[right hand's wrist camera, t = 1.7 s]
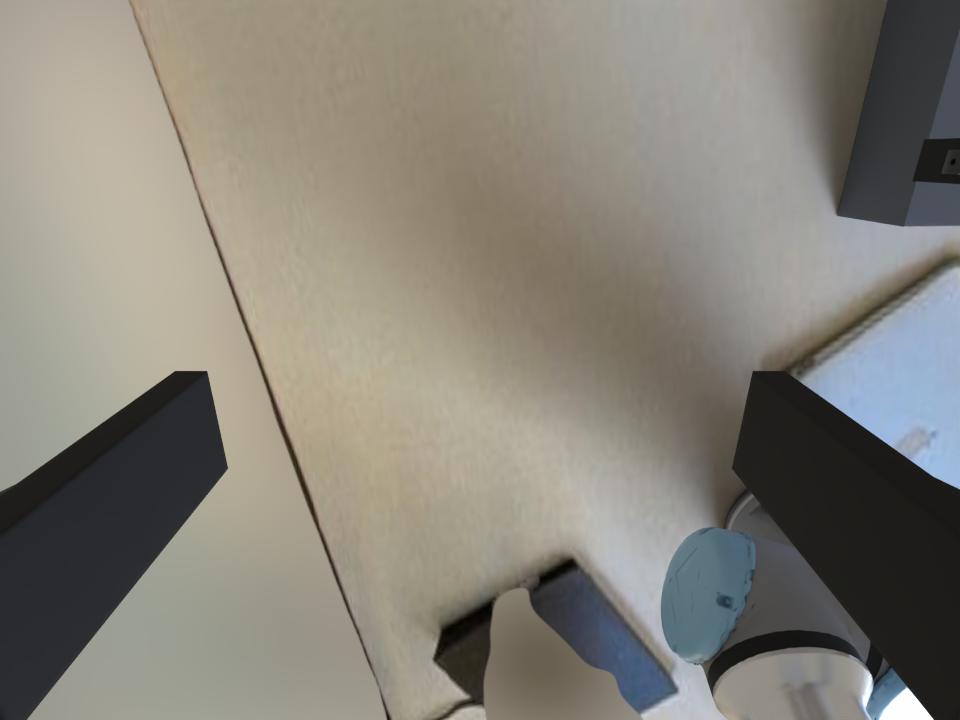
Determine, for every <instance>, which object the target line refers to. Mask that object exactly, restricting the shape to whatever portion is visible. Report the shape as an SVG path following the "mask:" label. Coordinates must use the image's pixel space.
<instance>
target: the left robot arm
mask: <svg viewBox="0 0 960 720" xmlns="http://www.w3.org/2000/svg"><path fill="white" fill-rule="evenodd" d="M912 181H915V182H931V183H948V184H960V138H946V139H924V141H923V145H922V148H921V152H920V156H919V159H918V163H917V166H916V170H915V173H914V177H913V180H912ZM661 620H662V627H663V632H664V636H665V638H666V641H667V643H668V645H669V647H670V648H671V650H672V651H673V652H674V653H675V654H677V655H678V656H679V657H680V658H682V659H684V660H685V661H686V662H687V663H689V664H690V663H693V664H694V665H699V664H700V665H701V666H702V667H703V669H704V672H705V675H706V678H707V681H708V684H709V687H710V690H711V693H712V696H713V700H714V702H715V705H716V707H717V709H718V710H719V712H720V713H721V714H722V715H723V716H724V717H725V718H727V719H728V720H933V719H932V717H931V716H930V715H929V714H928V712H927V711H926V710H925V709H924V707H923V706H922V705H921V704H920V702H919V701H918V700H917V699H916V697H915V696H914V695H913V694H912V692H911V691H910V690H909V689H908V687H907V686H906V685H905V684H904V682H903V681H902V680H901V679H900V677H899V676H898V675H897V674H896V672H895V671H894V670H893V669H892V667H891V666H890V665H889V664H888V662H887V661H886V660H885V659H884V658H883V656H882V655H881V654H880V653H879V651H878V650H877V649H876V648H875V646H874V645H873V644H872V643H871V641H870V640H869V639H868V638H867V636H866V635H865V634H864V633H863V631H862V630H861V629H860V628H859V626H858V625H857V624H856V623H855V621H854V620H853V619H852V618H851V616H850V615H849V614H848V613H847V611H846V610H845V609H844V608H843V606H842V605H841V604H840V603H839V601H838V600H837V599H836V598H835V596H834V595H833V594H832V593H831V591H830V590H829V589H828V588H827V586H826V585H825V584H824V583H823V581H822V580H821V579H820V578H819V576H818V575H817V574H816V573H815V571H814V570H813V569H812V568H811V566H810V565H809V564H808V563H807V562H806V560H805V559H804V558H803V557H802V555H801V554H800V553H799V552H798V550H797V549H796V548H795V547H794V545H793V544H792V543H791V542H790V540H789V539H788V538H787V537H786V535H785V534H784V533H783V532H782V530H781V529H780V528H779V527H778V525H777V524H776V523H775V522H774V520H773V519H772V518H771V517H770V515H769V514H768V513H767V512H766V510H765V509H764V508H763V507H762V505H761V504H760V503H759V502H758V500H757V499H756V498H755V497H754V495H753V494H752V493H751V492H750V490H748V491H746V492H745V493H744V494H743V495H742V496H741V497H740V498H739V499H738V500H737V502H736V503H735V504H734V506H733V507H732V509H731V511H730V513H729V515H728V517H727V520H726V524H725V529H720V528H714V527H711V528H703V529H700V530H698V531H696V532H694V533H692V534H691V535H690V536H688V537H687V538H686V539H685V540H684V541H683V543H682V544H681V545H680V546H679V548H678V549H677V551H676V552H675V554H674V556H673V558H672V560H671V562H670V565H669V567H668V570H667V573H666V578H665V581H664V585H663V590H662V598H661Z"/></svg>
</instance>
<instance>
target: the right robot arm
mask: <svg viewBox="0 0 960 720" xmlns="http://www.w3.org/2000/svg"><path fill="white" fill-rule="evenodd" d="M227 469H228V466H227V462H226V457H225V452H224V448H223V443H222V438H221V434H220V429H219V424H218V420H217V415H216V410H215V405H214V401H213V396H212V392H211V387H210V382H209V377H208V373H207V371H175V372H173V373H172V374H171V375H169V376H168V377H166V378H165V379H164V380H162V381H161V382H159V383H158V384H157V385H155V386H154V387H152V388H151V389H150V390H148V391H147V392H145V393H144V394H142V395H141V396H140V397H138V398H137V399H135V400H134V401H133V402H131V403H130V404H129V405H127V406H126V407H124V408H123V409H121V410H120V411H119V412H117V413H116V414H114V415H113V416H112V417H110V418H109V419H107V420H106V421H105V422H103V423H102V424H100V425H99V426H98V427H96V428H95V429H93V430H92V431H90V432H89V433H88V434H86V435H85V436H83V437H82V438H81V439H79V440H78V441H77V442H75V443H74V444H72V445H71V446H69V447H68V448H67V449H65V450H64V451H62V452H61V453H60V454H58V455H57V456H55V457H54V458H53V459H51V460H50V461H48V462H47V463H45V464H44V465H43V466H41V467H40V468H38V469H37V470H36V471H34V472H33V473H31V474H30V475H29V476H27V477H26V478H24V479H23V480H22V481H20V482H19V483H17V484H16V485H14V486H11V487H9V488H7V489H5V490H3V491H1V492H0V720H27V719H28V717H29V716H30V715H31V714H32V712H33V711H34V710H35V709H36V707H37V706H38V705H39V704H40V702H41V701H42V700H43V699H44V697H45V696H46V695H47V694H48V692H49V691H50V690H51V689H52V687H53V686H54V685H55V684H56V682H57V681H58V680H59V679H60V677H61V676H62V675H63V674H64V672H65V671H66V670H67V669H68V667H69V666H70V665H71V664H72V662H73V661H74V660H75V659H76V657H77V656H78V655H79V654H80V653H81V651H82V650H83V649H84V648H85V646H86V645H87V644H88V643H89V641H90V640H91V639H92V638H93V636H94V635H95V634H96V633H97V631H98V630H99V629H100V628H101V626H102V625H103V624H104V623H105V621H106V620H107V619H108V618H109V616H110V615H111V614H112V613H113V611H114V610H115V609H116V608H117V606H118V605H119V604H120V603H121V601H122V600H123V599H124V598H125V596H126V595H127V594H128V593H129V591H130V590H131V589H132V588H133V586H134V585H135V584H136V583H137V581H138V580H139V579H140V578H141V576H142V575H143V574H144V573H145V571H146V570H147V569H148V568H149V566H150V565H151V564H152V563H153V561H154V560H155V559H156V558H157V557H158V555H159V554H160V553H161V552H162V550H163V549H164V548H165V547H166V545H167V544H168V543H169V542H170V540H171V539H172V538H173V537H174V535H175V534H176V533H177V531H178V530H179V529H180V528H181V527H182V525H183V524H184V523H185V522H186V520H187V519H188V518H189V517H190V515H191V514H192V513H193V512H194V510H195V509H196V508H197V507H198V505H199V504H200V503H201V502H202V500H203V499H204V498H205V497H206V495H207V494H208V493H209V492H210V490H211V489H212V488H213V487H214V485H215V484H216V483H217V482H218V480H219V479H220V478H221V477H222V475H223V474H224V473H225V472H226V470H227ZM732 469H733V470H734V472H735V473H736V474H737V475H738V477H739V478H740V479H741V480H742V482H743V483H744V484H745V485H746V487H747V488H748V489H749V490H750V492H751V493H752V494H753V495H754V497H755V498H756V499H757V500H758V502H759V503H760V504H761V505H762V507H763V508H764V509H765V510H766V512H767V513H768V514H769V515H770V517H771V518H772V519H773V520H774V522H775V523H776V524H777V525H778V527H779V528H780V529H781V530H782V532H783V533H784V534H785V535H786V537H787V538H788V539H789V540H790V542H791V543H792V544H793V545H794V547H795V548H796V549H797V550H798V552H799V553H800V554H801V555H802V557H803V558H804V559H805V560H806V562H807V563H808V564H809V565H810V566H811V568H812V569H813V570H814V571H815V573H816V574H817V575H818V576H819V578H820V579H821V580H822V581H823V583H824V584H825V585H826V586H827V588H828V589H829V590H830V591H831V593H832V594H833V595H834V596H835V598H836V599H837V600H838V601H839V603H840V604H841V605H842V606H843V608H844V609H845V610H846V611H847V613H848V614H849V615H850V616H851V618H852V619H853V620H854V621H855V623H856V624H857V625H858V626H859V628H860V629H861V630H862V631H863V633H864V634H865V635H866V636H867V638H868V639H869V640H870V641H871V643H872V644H873V645H874V646H875V648H876V649H877V650H878V651H879V653H880V654H881V655H882V656H883V658H884V659H885V660H886V661H887V662H888V664H889V665H890V666H891V667H892V669H893V670H894V671H895V672H896V674H897V675H898V676H899V677H900V679H901V680H902V681H903V682H904V684H905V685H906V686H907V687H908V689H909V690H910V691H911V692H912V694H913V695H914V696H915V697H916V699H917V700H918V701H919V702H920V704H921V705H922V706H923V707H924V709H925V710H926V711H927V712H928V714H929V715H930V716H931V717H932V719H933V720H960V489H958V488H955V487H953V486H951V485H949V484H947V483H945V482H943V481H941V480H939V479H937V478H935V477H933V476H931V475H930V474H929V473H927V472H926V471H924V470H923V469H922V468H920V467H919V466H917V465H916V464H915V463H913V462H912V461H910V460H909V459H907V458H906V457H905V456H903V455H902V454H900V453H899V452H898V451H896V450H895V449H893V448H892V447H891V446H889V445H888V444H886V443H885V442H884V441H882V440H881V439H879V438H878V437H877V436H875V435H874V434H872V433H871V432H870V431H868V430H867V429H865V428H864V427H862V426H861V425H860V424H858V423H857V422H855V421H854V420H853V419H851V418H850V417H848V416H847V415H846V414H844V413H843V412H841V411H840V410H839V409H837V408H836V407H834V406H833V405H832V404H830V403H829V402H827V401H826V400H825V399H823V398H822V397H820V396H819V395H818V394H816V393H815V392H813V391H812V390H810V389H809V388H808V387H806V386H805V385H803V384H802V383H801V382H799V381H798V380H796V379H795V378H794V377H792V376H791V375H789V374H788V373H787V372H785V371H753V373H752V377H751V382H750V387H749V391H748V396H747V401H746V405H745V410H744V415H743V419H742V424H741V429H740V433H739V438H738V443H737V448H736V452H735V457H734V462H733V466H732Z"/></svg>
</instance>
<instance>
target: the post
mask: <svg viewBox="0 0 960 720" xmlns="http://www.w3.org/2000/svg"><path fill="white" fill-rule="evenodd" d="M946 138H960V0H888V3H887V7H886V12H885V16H884V20H883V24H882V28H881V33H880V37H879V41H878V45H877V50H876V54H875V58H874V62H873V67H872V71H871V75H870V79H869V83H868V88H867V92H866V96H865V100H864V105H863V109H862V113H861V117H860V121H859V126H858V130H857V134H856V138H855V143H854V147H853V151H852V155H851V160H850V164H849V168H848V172H847V176H846V181H845V185H844V189H843V193H842V198H841V202H840V206H839V210H838V215H837V216H842V217H848V218H854V219H860V220H866V221H872V222H878V223H884V224H891V225H897V226H903V227H913V226H960V184H948V183H931V182H915V181H912V180H913V177H914V173H915V170H916V166H917V163H918V159H919V156H920V152H921V148H922V145H923V141H924V139H946Z"/></svg>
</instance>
